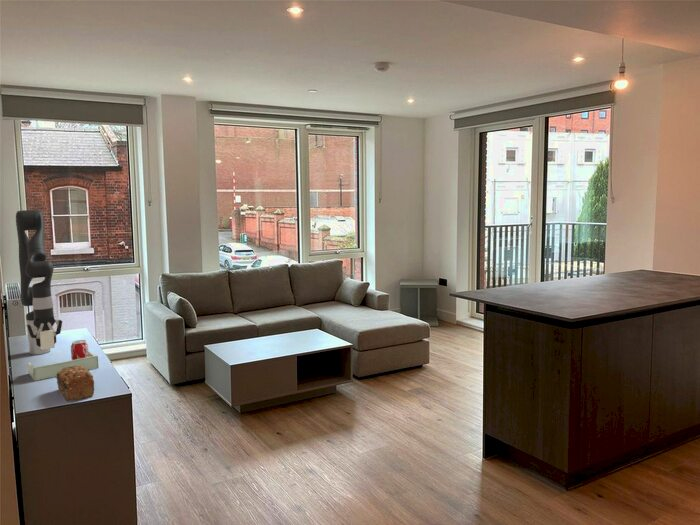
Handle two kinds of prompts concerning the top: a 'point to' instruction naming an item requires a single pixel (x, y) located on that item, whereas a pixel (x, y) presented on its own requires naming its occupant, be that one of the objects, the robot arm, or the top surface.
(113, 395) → the top surface
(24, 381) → the top surface
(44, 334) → the cream rectangular block
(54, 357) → the top surface
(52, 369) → the u-shaped bracket
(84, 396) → the bread
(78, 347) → the soda can
